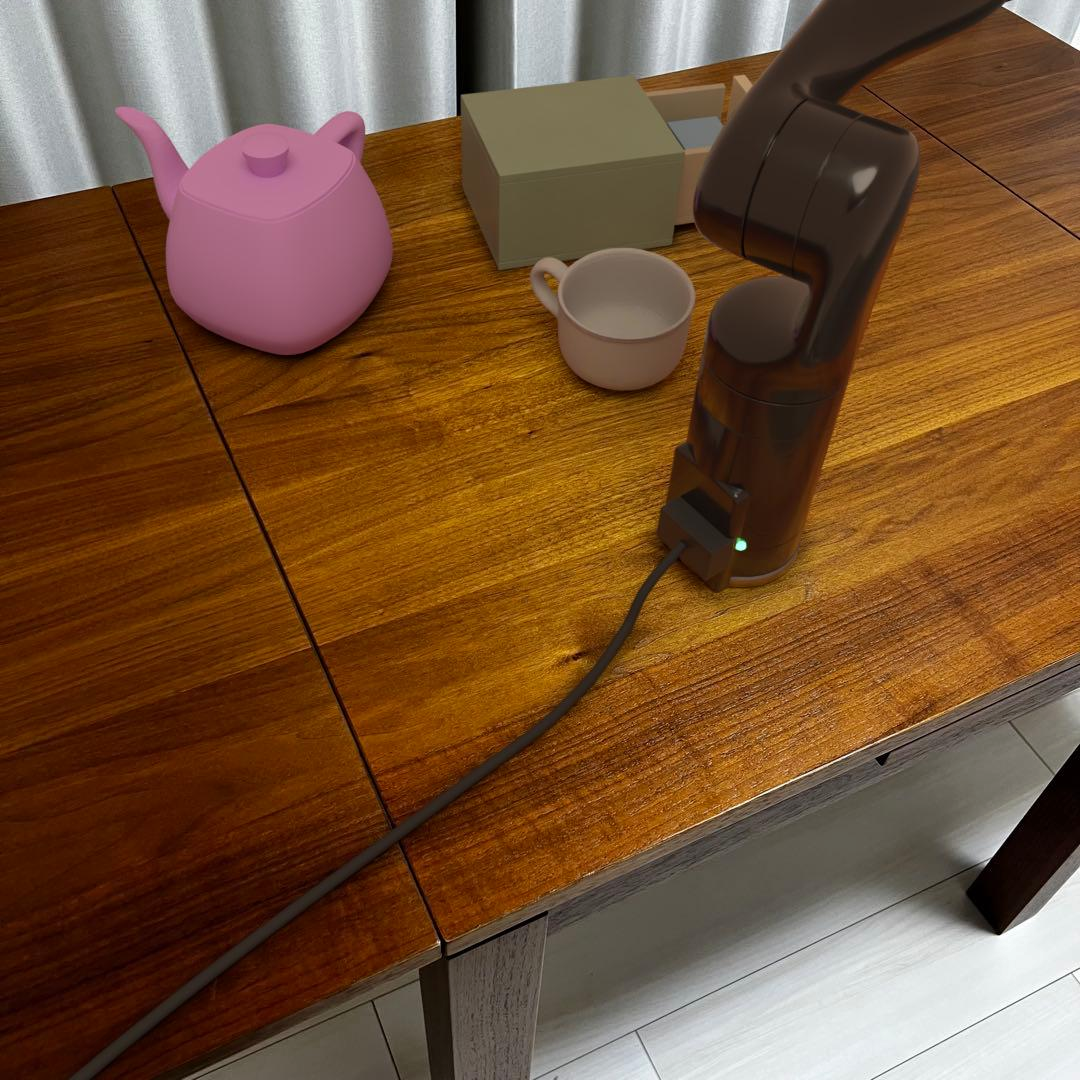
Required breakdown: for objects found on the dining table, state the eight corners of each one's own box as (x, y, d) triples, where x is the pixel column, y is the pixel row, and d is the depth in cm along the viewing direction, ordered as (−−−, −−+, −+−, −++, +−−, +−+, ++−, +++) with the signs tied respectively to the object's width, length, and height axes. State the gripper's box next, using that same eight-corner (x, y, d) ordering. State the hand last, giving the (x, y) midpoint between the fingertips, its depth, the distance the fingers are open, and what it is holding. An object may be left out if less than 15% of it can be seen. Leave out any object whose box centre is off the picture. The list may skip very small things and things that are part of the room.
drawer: (771, 142, 121) (786, 69, 115) (824, 211, 113) (842, 136, 107) (585, 167, 117) (591, 92, 111) (626, 239, 109) (635, 163, 103)
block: (728, 191, 113) (737, 143, 109) (679, 198, 112) (686, 150, 108) (708, 163, 116) (716, 115, 112) (660, 169, 115) (666, 121, 111)
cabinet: (624, 166, 119) (633, 74, 111) (672, 245, 110) (685, 151, 103) (462, 187, 115) (460, 94, 108) (498, 270, 107) (499, 175, 99)
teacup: (709, 366, 99) (723, 288, 93) (625, 430, 94) (634, 351, 88) (584, 292, 105) (590, 214, 99) (498, 348, 100) (499, 269, 94)
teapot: (444, 255, 108) (440, 99, 97) (311, 391, 95) (288, 231, 84) (238, 183, 114) (211, 30, 103) (88, 302, 102) (38, 142, 90)
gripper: (1015, -187, 103) (854, -30, 110) (1104, -128, 95) (924, 37, 102) (1047, -125, 108) (891, 21, 115) (1133, -65, 100) (960, 89, 107)
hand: (907, 28), depth 108 cm, fingers closed
